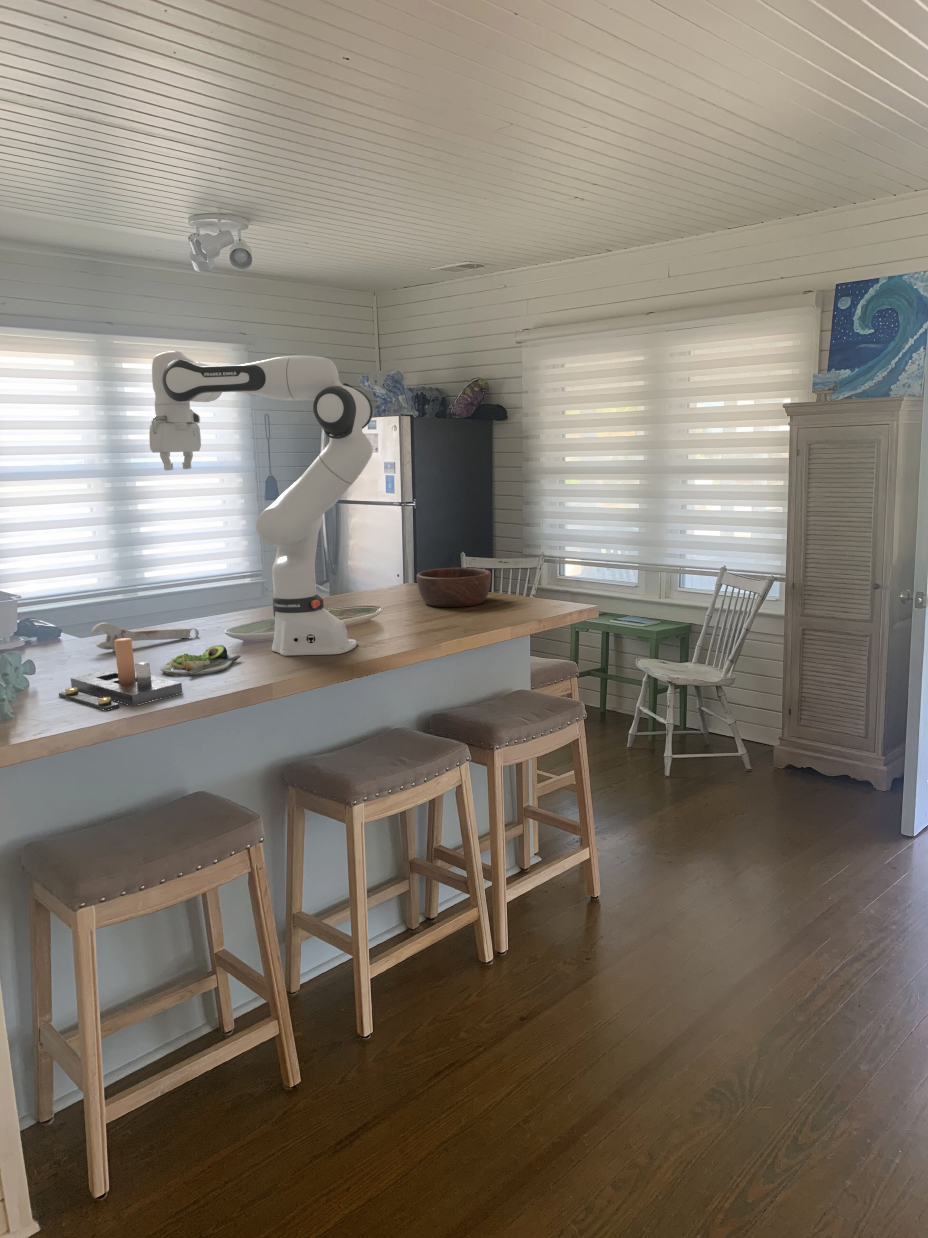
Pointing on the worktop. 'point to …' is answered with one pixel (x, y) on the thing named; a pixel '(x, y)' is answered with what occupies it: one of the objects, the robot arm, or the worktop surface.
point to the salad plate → (201, 662)
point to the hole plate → (120, 688)
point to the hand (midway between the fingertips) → (178, 469)
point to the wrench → (138, 634)
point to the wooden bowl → (454, 586)
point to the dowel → (125, 661)
